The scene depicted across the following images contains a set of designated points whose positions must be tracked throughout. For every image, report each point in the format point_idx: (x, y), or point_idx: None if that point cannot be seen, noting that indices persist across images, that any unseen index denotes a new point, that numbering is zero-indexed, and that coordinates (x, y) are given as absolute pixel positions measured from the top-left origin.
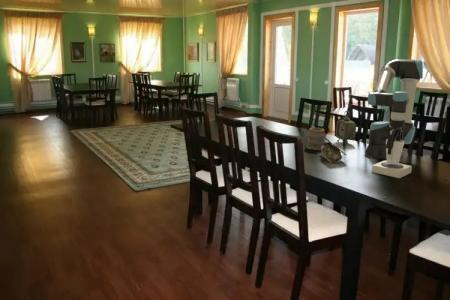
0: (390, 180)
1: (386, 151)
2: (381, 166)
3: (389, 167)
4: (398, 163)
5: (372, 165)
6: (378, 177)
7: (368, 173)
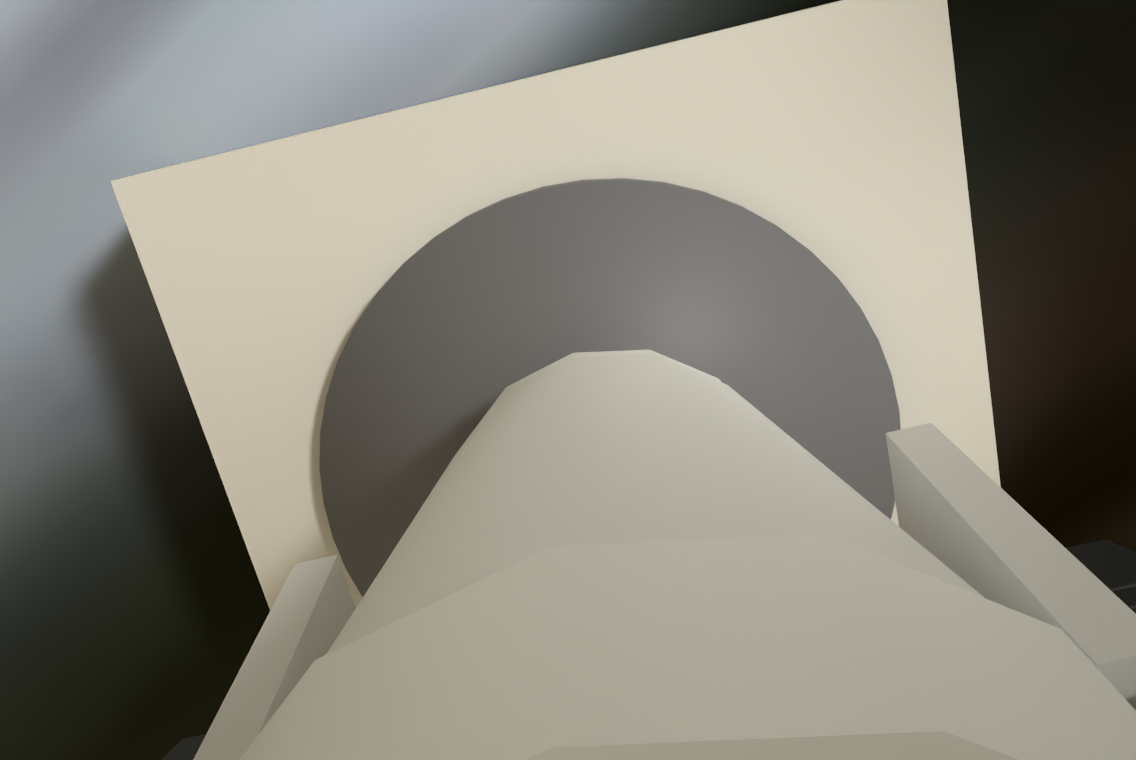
0: (104, 744)
1: (424, 516)
2: (260, 396)
3: (353, 576)
4: (962, 411)
5: (116, 186)
6: (15, 525)
7: (9, 220)
